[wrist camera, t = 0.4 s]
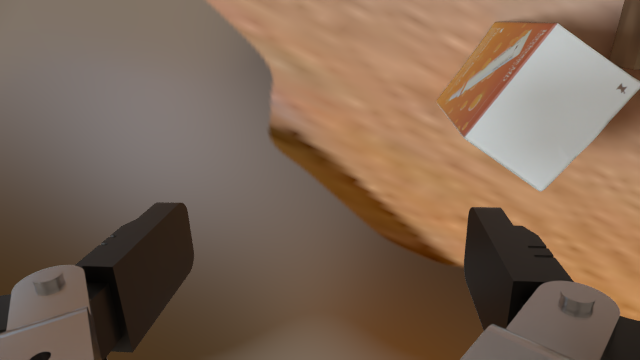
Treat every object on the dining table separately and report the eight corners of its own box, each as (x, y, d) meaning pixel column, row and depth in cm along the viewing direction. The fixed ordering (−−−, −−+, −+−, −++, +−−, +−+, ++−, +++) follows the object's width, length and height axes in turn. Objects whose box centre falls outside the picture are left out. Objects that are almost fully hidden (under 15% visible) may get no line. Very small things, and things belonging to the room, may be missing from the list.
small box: (494, 20, 35) (559, 18, 23) (554, 63, 36) (649, 84, 24) (432, 102, 38) (461, 139, 26) (489, 141, 39) (544, 195, 27)
